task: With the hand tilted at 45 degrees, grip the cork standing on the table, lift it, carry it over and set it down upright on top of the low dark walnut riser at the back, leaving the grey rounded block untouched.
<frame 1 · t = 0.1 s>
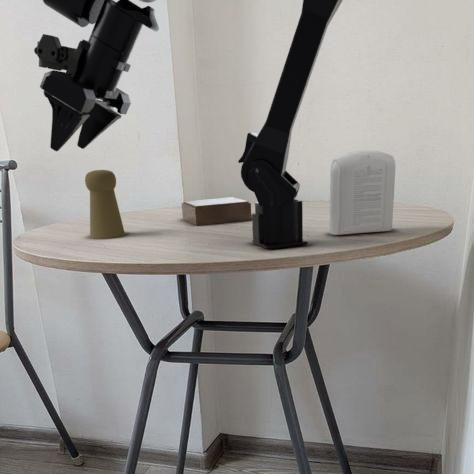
hand: (67, 148, 87), 15 cm above the table, tool tilted 35°, fingers open, 9 cm apart
cork: (107, 236, 102), on the table
walnut riser: (216, 219, 114), on the table
grey rounded block: (360, 233, 93), on the table
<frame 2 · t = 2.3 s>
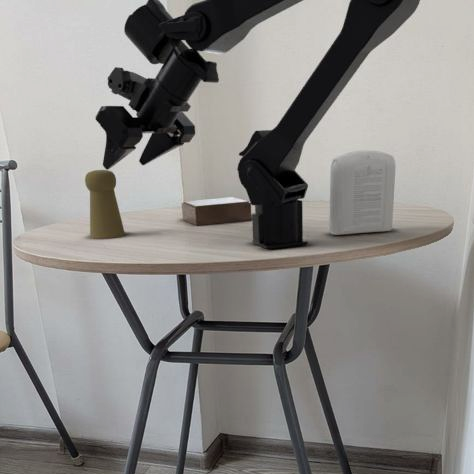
hand: (123, 165, 96), 12 cm above the table, tool tilted 45°, fingers open, 9 cm apart
nothing on the table moved.
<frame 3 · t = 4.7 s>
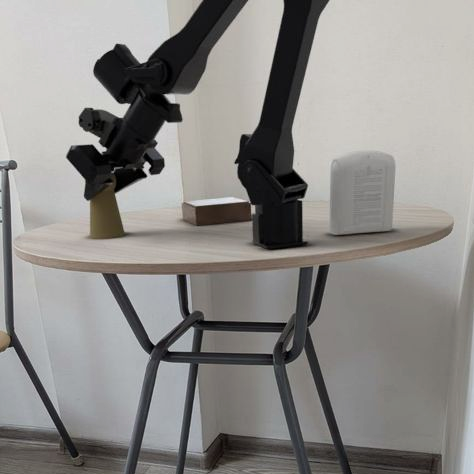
hand: (96, 197, 101), 7 cm above the table, tool tilted 45°, fingers closed on cork, 5 cm apart
cork: (107, 236, 102), on the table, touching gripper
everything else where it was.
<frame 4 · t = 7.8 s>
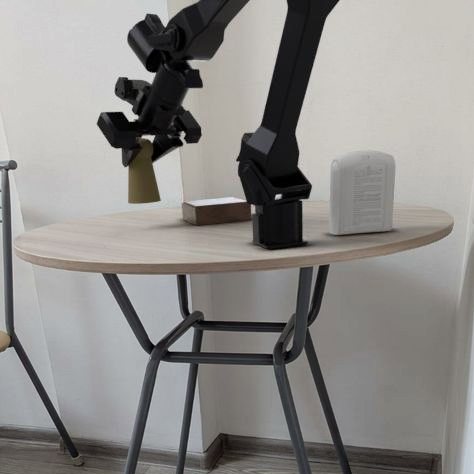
hand: (136, 164, 106), 11 cm above the table, tool tilted 45°, fingers closed on cork, 5 cm apart
cork: (144, 202, 108), point 5 cm above the table, touching gripper
everything else where it was.
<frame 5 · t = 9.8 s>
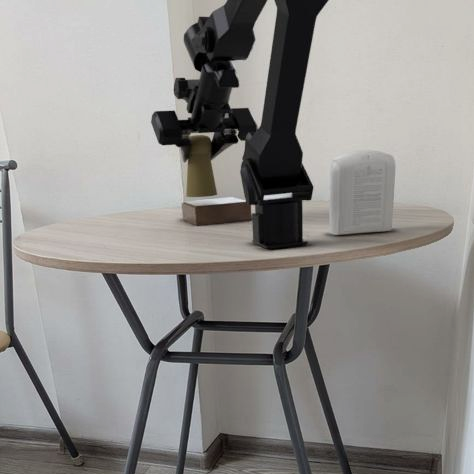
hand: (196, 159, 112), 11 cm above the table, tool tilted 45°, fingers closed on cork, 5 cm apart
cork: (201, 196, 113), point 4 cm above the table, touching gripper
everything else where it was.
when the fingers open (10 cm above the table, at t = 11.3 s): cork stays where it is, resting on walnut riser.
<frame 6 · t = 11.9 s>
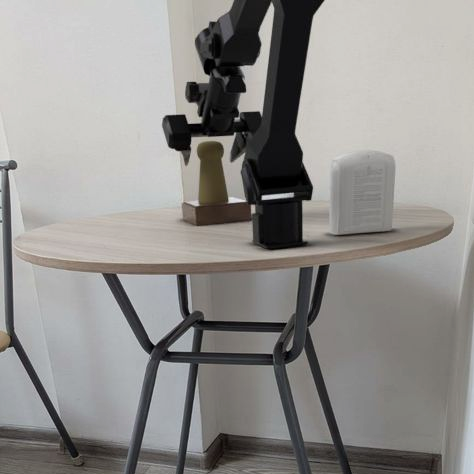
hand: (208, 162, 113), 11 cm above the table, tool tilted 45°, fingers open, 9 cm apart
cork: (213, 201, 114), point 3 cm above the table, touching walnut riser
everything else where it was.
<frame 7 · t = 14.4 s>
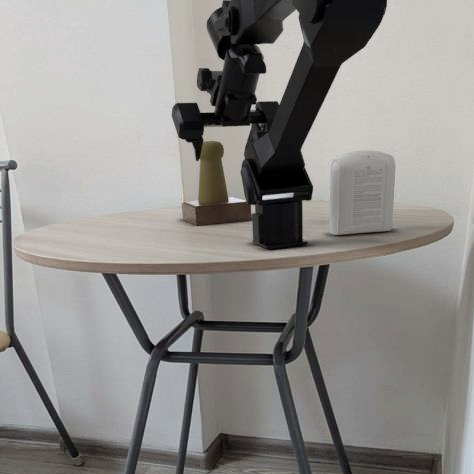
hand: (221, 158, 104), 12 cm above the table, tool tilted 40°, fingers open, 9 cm apart
nothing on the table moved.
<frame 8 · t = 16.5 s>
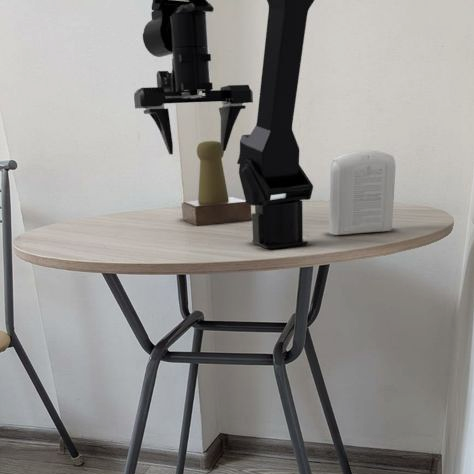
hand: (197, 152, 98), 13 cm above the table, tool pointing down, fingers open, 9 cm apart
nothing on the table moved.
at the end: cork inside the target area on the walnut riser (1.3 cm from its centre), point 3.3 cm above the walnut riser's base; cork tilted 0°; grey rounded block moved 0.2 cm from its start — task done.
